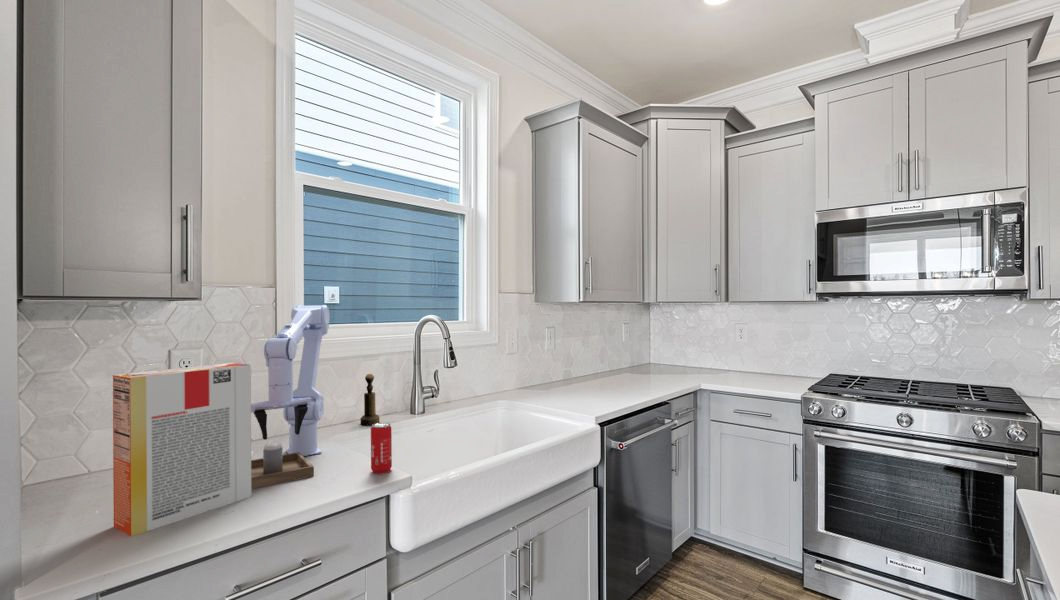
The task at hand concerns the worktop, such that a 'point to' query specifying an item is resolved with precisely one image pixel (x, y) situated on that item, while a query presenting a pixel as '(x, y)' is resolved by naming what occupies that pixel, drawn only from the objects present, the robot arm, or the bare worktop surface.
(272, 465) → the cylinder
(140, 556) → the worktop surface
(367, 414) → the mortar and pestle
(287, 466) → the walnut tray
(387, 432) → the beverage can
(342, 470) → the worktop surface
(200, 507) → the cereal box
